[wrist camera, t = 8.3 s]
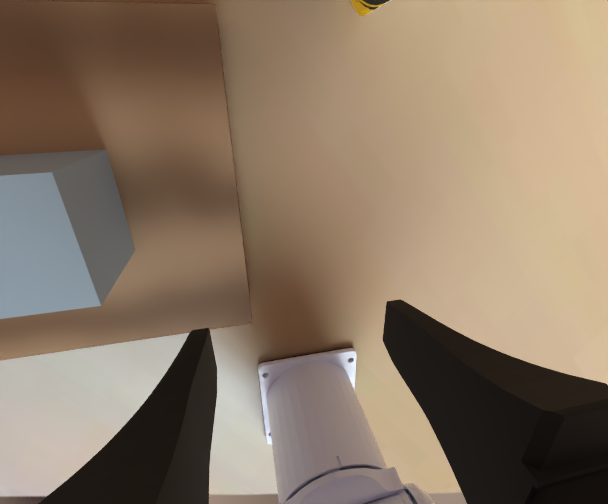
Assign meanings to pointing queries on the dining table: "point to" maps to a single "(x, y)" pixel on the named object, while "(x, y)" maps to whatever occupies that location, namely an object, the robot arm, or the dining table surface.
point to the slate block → (59, 232)
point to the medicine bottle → (367, 6)
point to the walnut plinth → (132, 159)
